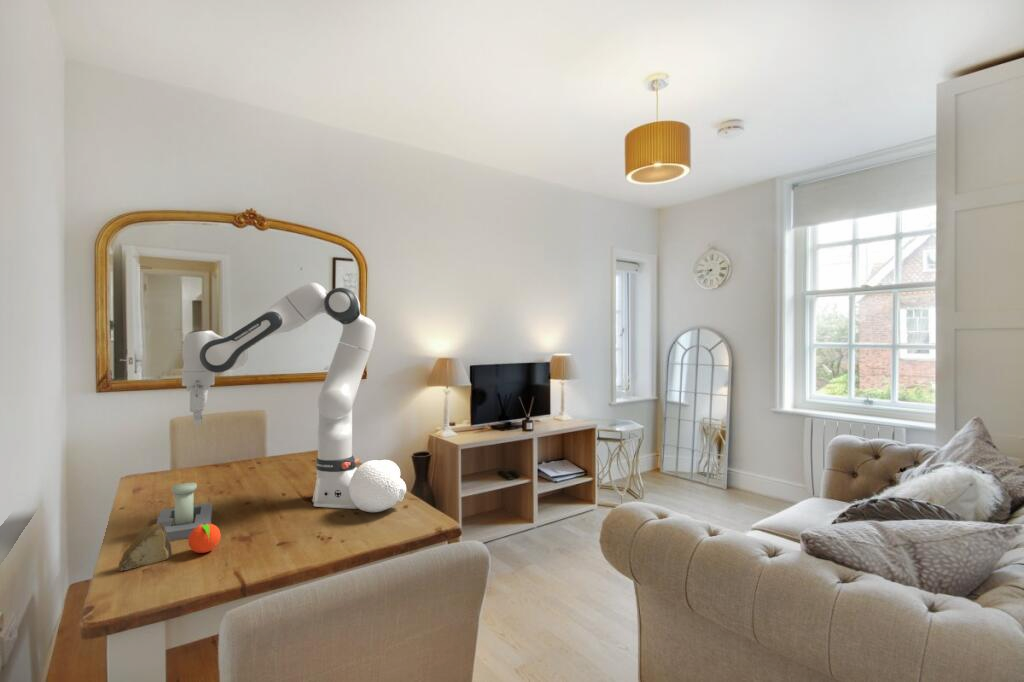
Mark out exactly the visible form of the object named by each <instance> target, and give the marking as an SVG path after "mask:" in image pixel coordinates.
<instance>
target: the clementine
mask: <svg viewBox="0 0 1024 682" xmlns="http://www.w3.org/2000/svg"><path fill="white" fill-rule="evenodd" d="M221 536H222V535H221V530H220V528H219V527H218V526H217V525H214V524H213V523H211V524H209V523H208V524H202V525H199V526H198V527H196V528H195V529H194V530H193V531H192V532H191V534H190V536H189V538H187V539H188V547H189V548H190V549H191V551H193V552H195V553H198V554H205V553H208V552H210V551H213V550H214V549H215V548H216V547H217V546H218V545H219V542H221Z"/></svg>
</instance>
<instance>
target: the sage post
mask: <svg viewBox="0 0 1024 682" xmlns="http://www.w3.org/2000/svg"><path fill="white" fill-rule="evenodd" d="M197 487H198V484H197V482H184V483H183V482H182V483H178V484H175V485H172V487H171V494H172V495H174V508H175V518H174V526H177V525H184V524H190V523H194V516H193V510H194V505H195V504H194V502H195V500H194V497H195V496H194V495H195V494H194V492H196V491H197V490H198V489H197Z"/></svg>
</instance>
